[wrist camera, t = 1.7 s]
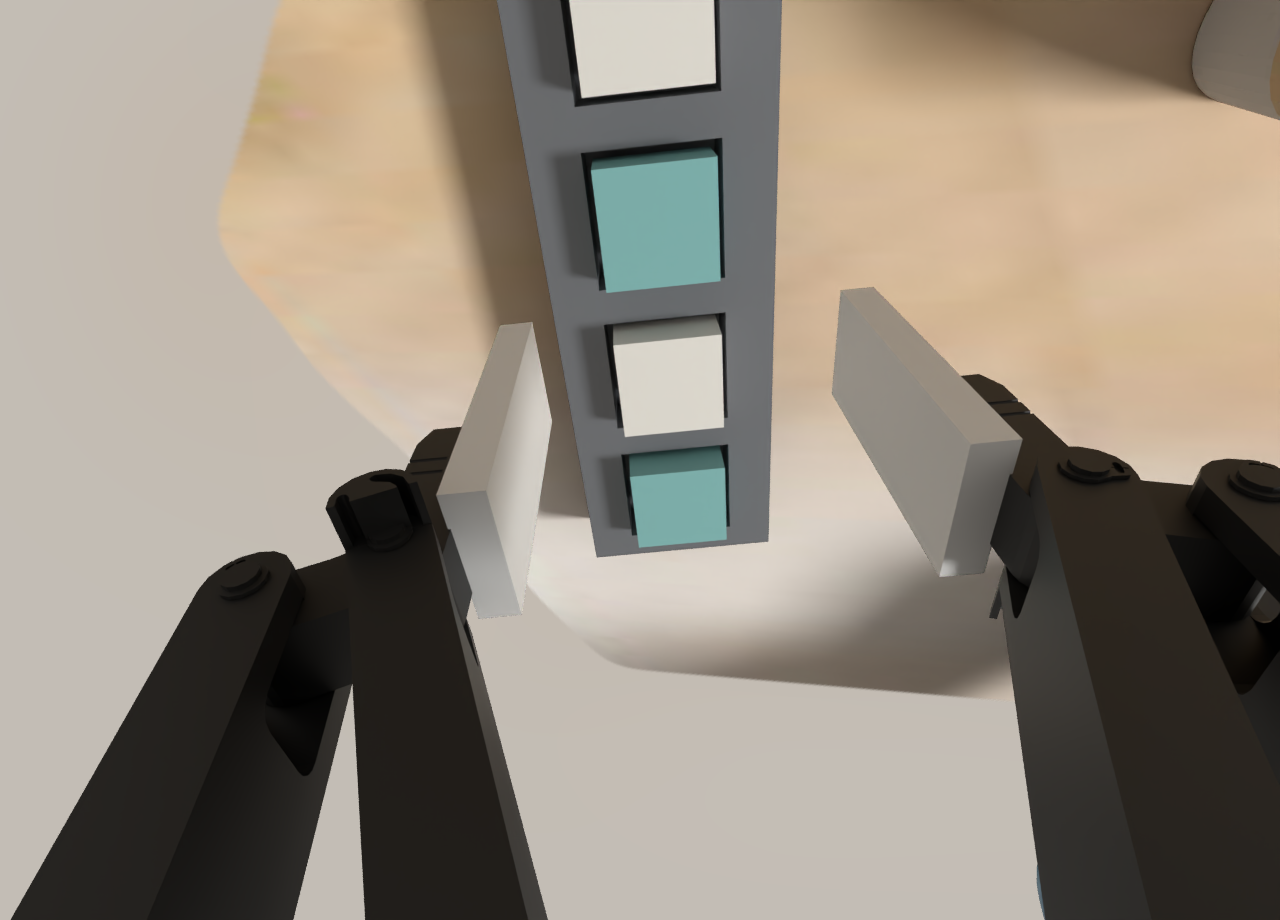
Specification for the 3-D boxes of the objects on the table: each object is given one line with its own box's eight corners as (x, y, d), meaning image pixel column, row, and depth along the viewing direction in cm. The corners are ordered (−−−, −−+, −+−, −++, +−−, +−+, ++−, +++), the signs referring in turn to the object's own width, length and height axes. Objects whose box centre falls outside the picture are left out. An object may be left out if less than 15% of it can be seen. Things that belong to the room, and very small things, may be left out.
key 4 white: (707, 78, 25) (715, 82, 23) (584, 91, 25) (581, 98, 23) (702, -84, 22) (711, -94, 20) (564, -67, 22) (559, -76, 20)
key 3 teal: (713, 263, 29) (720, 281, 27) (607, 274, 29) (606, 292, 27) (709, 146, 26) (717, 156, 24) (592, 159, 26) (590, 170, 24)
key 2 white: (717, 403, 33) (723, 427, 31) (624, 412, 33) (624, 437, 31) (714, 314, 30) (721, 334, 28) (613, 324, 30) (613, 345, 28)
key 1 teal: (720, 511, 37) (726, 539, 35) (637, 519, 37) (638, 547, 35) (718, 442, 34) (724, 467, 32) (629, 450, 34) (630, 477, 32)
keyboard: (757, 504, 40) (768, 541, 37) (598, 519, 40) (596, 557, 37) (764, -147, 23) (786, -171, 20) (490, -114, 23) (472, -133, 20)
